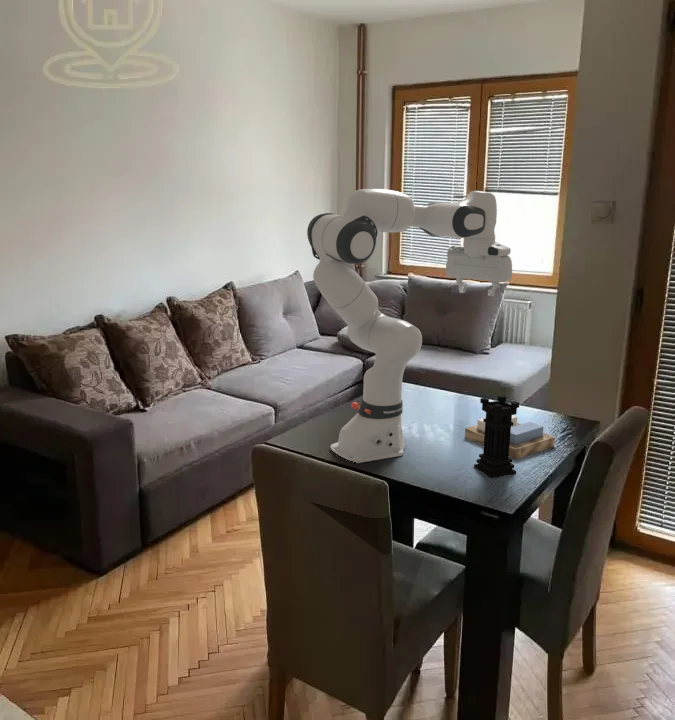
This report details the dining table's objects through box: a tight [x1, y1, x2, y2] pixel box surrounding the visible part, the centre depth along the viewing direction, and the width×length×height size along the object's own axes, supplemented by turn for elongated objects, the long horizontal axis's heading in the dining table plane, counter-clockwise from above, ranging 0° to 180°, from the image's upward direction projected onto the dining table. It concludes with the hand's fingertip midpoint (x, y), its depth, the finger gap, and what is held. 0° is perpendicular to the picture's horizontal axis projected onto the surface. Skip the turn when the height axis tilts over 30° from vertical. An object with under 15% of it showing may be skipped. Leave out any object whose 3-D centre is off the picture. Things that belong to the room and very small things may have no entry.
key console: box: [464, 422, 556, 460], centre depth 205 cm, size 17×20×3 cm
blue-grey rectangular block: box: [510, 421, 544, 445], centre depth 200 cm, size 12×5×3 cm, turn 125°
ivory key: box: [476, 415, 518, 432], centre depth 208 cm, size 12×5×3 cm, turn 125°
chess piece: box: [473, 395, 520, 479], centre depth 182 cm, size 8×8×20 cm
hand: (476, 294), depth 204 cm, fingers open, 8 cm apart
